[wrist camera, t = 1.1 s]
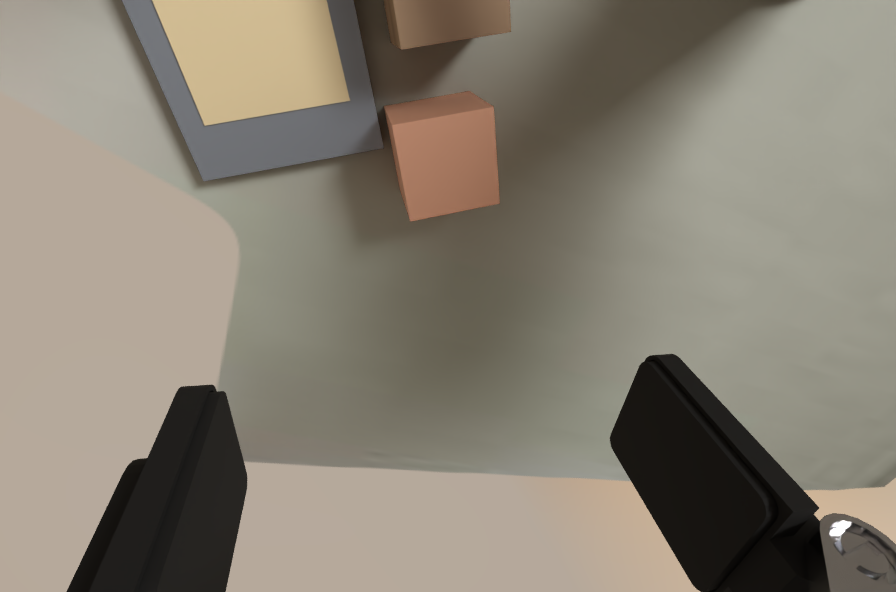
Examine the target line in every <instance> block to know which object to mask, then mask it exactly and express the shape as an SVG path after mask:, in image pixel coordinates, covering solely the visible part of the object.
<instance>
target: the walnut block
mask: <svg viewBox="0 0 896 592" xmlns="http://www.w3.org/2000/svg"><path fill="white" fill-rule="evenodd" d="M383 1H384V6H385V12H386V18H387V24H388V30H389V35H390V41H391V43H392V44H394V45H395V46H396V47H398V48H399V49H401V50H402V49H409V48H415V47H421V46H427V45H433V44H439V43H445V42H451V41H458V40H464V39H470V38H476V37H482V36H488V35H494V34H501V33H507V32H511V20H510V0H383Z"/></svg>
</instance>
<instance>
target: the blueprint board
mask: <svg viewBox="0 0 896 592" xmlns="http://www.w3.org/2000/svg"><path fill="white" fill-rule="evenodd" d="M122 2H123V4H124V6H125V9H126V11H127V13H128V15H129V17H130V20H131V22H132V24H133V26H134V28H135V31H136V33H137V35H138V37H139V40H140V42H141V44H142V46H143V48H144V51H145V53H146V55H147V57H148V59H149V62H150V64H151V66H152V68H153V71H154V73H155V75H156V77H157V79H158V82H159V84H160V86H161V88H162V90H163V93H164V95H165V97H166V99H167V101H168V104H169V106H170V108H171V110H172V113H173V115H174V117H175V119H176V121H177V124H178V126H179V128H180V130H181V132H182V135H183V137H184V139H185V141H186V144H187V146H188V148H189V150H190V152H191V155H192V157H193V159H194V161H195V163H196V166H197V168H198V170H199V172H200V175H201V177H202V179H203V181H208V180H214V179H219V178H224V177H230V176H235V175H241V174H246V173H252V172H257V171H262V170H268V169H273V168H279V167H284V166H290V165H295V164H300V163H306V162H311V161H317V160H322V159H328V158H333V157H338V156H344V155H349V154H355V153H360V152H366V151H371V150H376V149H382V148H384V147H383V142H382V137H381V132H380V127H379V122H378V117H377V112H376V107H375V103H374V98H373V93H372V88H371V83H370V78H369V73H368V68H367V63H366V59H365V54H364V49H363V44H362V39H361V34H360V29H359V24H358V20H357V15H356V10H355V5H354V0H122Z"/></svg>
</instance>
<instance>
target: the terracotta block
mask: <svg viewBox="0 0 896 592" xmlns="http://www.w3.org/2000/svg"><path fill="white" fill-rule="evenodd" d="M384 110H385V115H386V120H387V125H388V130H389V136H390V141H391V146H392V151H393V156H394V161H395V166H396V171H397V177H398V182H399V187H400V191H401V194H402V198H403V201H404V204H405V207H406V210H407V213H408V216H409V219H410V222H411V221H416V220H421V219H426V218H431V217H436V216H441V215H446V214H450V213H455V212H460V211H465V210H470V209H475V208H480V207H485V206H490V205H495V204H500V198H499V182H498V166H497V151H496V135H495V119H494V107H493V106H492V105H490V104H489V103H487V102H486V101H484V100H482V99H481V98H479V97H478V96H476V95H475V94H473V93H472V92H470V91H467V92H461V93H455V94H450V95H444V96H438V97H433V98H427V99H421V100H416V101H410V102H404V103H398V104H393V105H387V106H384Z"/></svg>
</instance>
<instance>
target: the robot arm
mask: <svg viewBox="0 0 896 592" xmlns="http://www.w3.org/2000/svg"><path fill="white" fill-rule="evenodd" d="M610 442H611V447H612V449H613V451H614V453H615V454H616V456H617V458H618V460H619V461H620V463H621V465H622V466H623V468H624V470H625V471H626V473H627V475H628V476H629V478H630V480H631V482H632V483H633V485H634V487H635V488H636V490H637V491H638V493H639V495H640V496H641V498H642V500H643V501H644V503H645V505H646V507H647V509H648V510H649V512H650V514H651V515H652V517H653V519H654V520H655V522H656V524H657V525H658V527H659V529H660V530H661V532H662V534H663V536H664V537H665V539H666V541H667V542H668V544H669V546H670V547H671V549H672V551H673V552H674V554H675V556H676V557H677V559H678V561H679V562H680V564H681V566H682V568H683V569H684V571H685V573H686V574H687V576H688V578H689V579H690V581H691V583H692V584H693V585H694V586H695V588H696V589H698V590H699V591H701V592H896V544H895V543H894V542H893V541H891V540H890V539H889V538H888V537H887V536H886V535H884V534H883V533H881V532H880V531H879V530H877V529H876V528H874V527H873V526H871V525H869V524H867V523H865V522H863V521H861V520H860V519H857V518H854V517H851V516H848V515H845V514H836V513H833V514H829V515H826V516H824V517H823V518H822V519H821V520H820V521H819V520H818V519H817V518H816V517H815V516H814V513H815V512H816V511H817V510H818V509H819V507H818V506H817V505H816V504H815V503H814V501H813V500H812V499H811V498H810V497H809V496H808V495H807V494H806V493H805V492H804V491H803V490H802V489H801V488H800V486H799V485H798V484H797V483H796V482H795V481H794V480H793V479H792V478H791V477H790V476H789V475H788V474H787V473H786V471H785V470H784V469H783V468H782V467H781V466H780V465H779V464H778V463H777V462H776V461H775V460H774V459H773V458H772V456H771V455H770V454H769V453H768V452H767V451H766V450H765V449H764V448H763V447H762V446H761V445H760V444H759V443H758V441H757V440H756V439H755V438H754V437H753V436H752V435H751V434H750V433H749V432H748V431H747V430H746V429H745V428H744V426H743V425H742V424H741V423H740V422H739V421H738V420H737V419H736V418H735V417H734V416H733V415H732V414H731V413H730V411H729V410H728V409H727V408H726V407H725V406H724V405H723V404H722V403H721V402H720V401H719V400H718V399H717V398H716V397H715V395H714V394H713V393H712V392H711V391H710V390H709V389H708V388H707V387H706V386H705V385H704V384H703V383H702V382H701V380H700V379H699V378H698V377H697V376H696V375H695V374H694V373H693V372H692V371H691V370H690V369H689V368H688V367H687V365H686V364H685V363H684V362H683V361H682V360H681V359H680V358H679V357H678V356H676V355H674V354H666V355H652V356H649V357H647V358H646V360H645V361H644V362H643V363H641V365H640V366H639V369H638V371H637V373H636V376H635V378H634V381H633V383H632V385H631V388H630V390H629V392H628V395H627V397H626V400H625V402H624V404H623V407H622V409H621V411H620V414H619V416H618V419H617V421H616V423H615V426H614V428H613V431H612V433H611V436H610ZM246 490H247V473H246V469H245V465H244V461H243V457H242V453H241V450H240V446H239V442H238V438H237V434H236V430H235V427H234V423H233V419H232V415H231V411H230V407H229V404H228V400H227V396H226V393H225V392H224V391H220V392H217V391H216V388H215V387H214V385H200V386H185V387H180V388H179V389H178V391H177V393H176V395H175V397H174V399H173V402H172V404H171V406H170V408H169V411H168V413H167V415H166V418H165V420H164V422H163V424H162V427H161V429H160V431H159V433H158V436H157V438H156V440H155V442H154V445H153V447H152V450H151V451H150V454H149V456H148V458H146V459H137V460H134V461H132V462H131V463H130V464H129V465H128V466H127V468H126V470H125V471H124V473H123V475H122V477H121V479H120V481H119V483H118V485H117V487H116V489H115V492H114V494H113V496H112V498H111V500H110V502H109V504H108V506H107V508H106V510H105V512H104V515H103V517H102V519H101V521H100V523H99V525H98V527H97V529H96V531H95V534H94V535H93V538H92V540H91V542H90V544H89V546H88V548H87V550H86V552H85V554H84V556H83V558H82V561H81V563H80V565H79V567H78V569H77V571H76V573H75V575H74V577H73V580H72V581H71V584H70V586H69V588H68V590H67V592H225V591H226V587H227V582H228V577H229V572H230V567H231V563H232V558H233V553H234V548H235V543H236V539H237V534H238V529H239V524H240V519H241V514H242V510H243V505H244V500H245V495H246Z"/></svg>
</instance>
